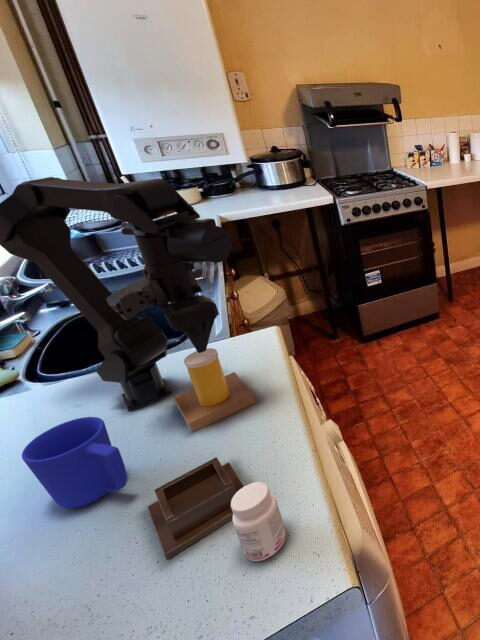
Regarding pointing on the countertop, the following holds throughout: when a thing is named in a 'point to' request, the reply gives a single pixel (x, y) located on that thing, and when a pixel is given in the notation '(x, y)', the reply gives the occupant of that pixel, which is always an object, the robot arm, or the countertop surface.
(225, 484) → the stand
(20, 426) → the countertop surface
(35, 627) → the countertop surface
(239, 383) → the wooden pad
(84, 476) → the mug
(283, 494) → the countertop surface
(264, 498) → the pill bottle
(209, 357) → the yellow canister
